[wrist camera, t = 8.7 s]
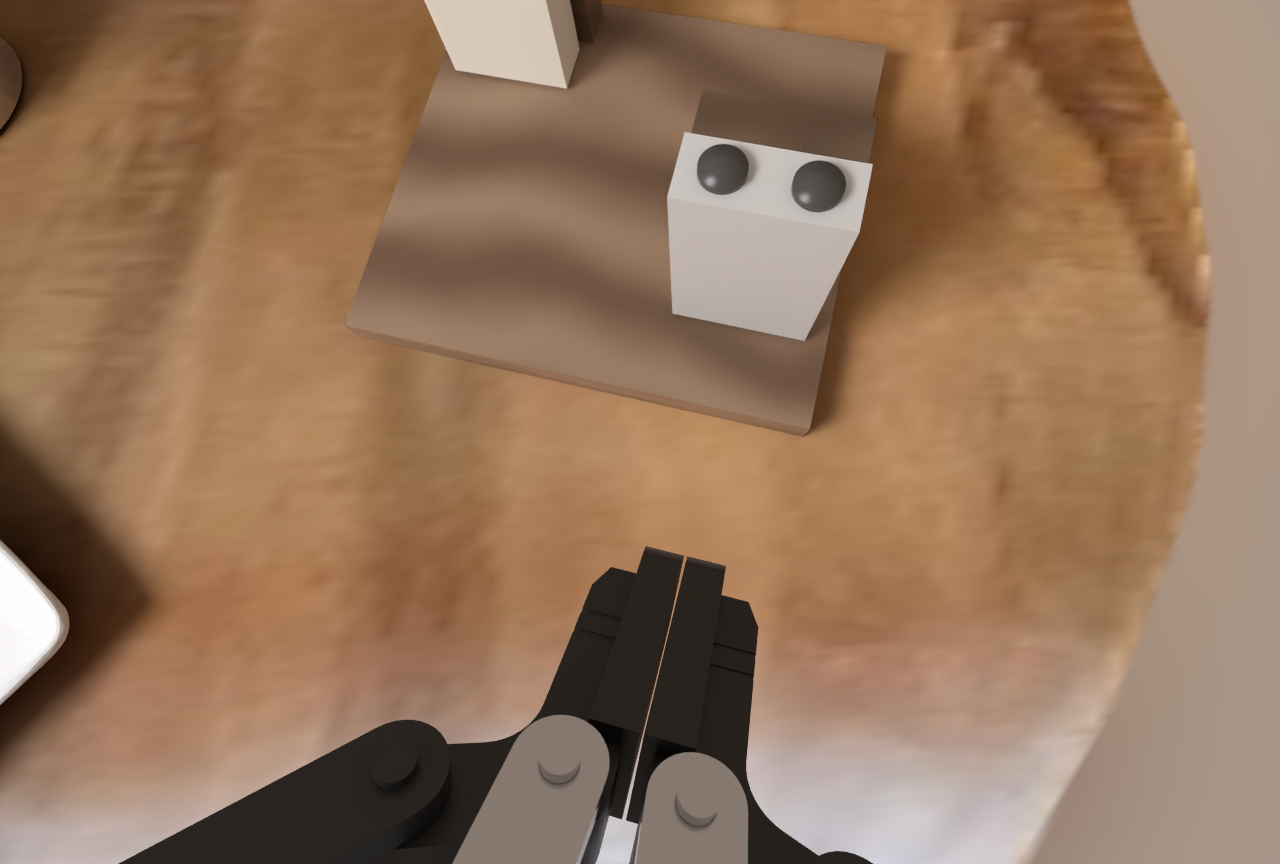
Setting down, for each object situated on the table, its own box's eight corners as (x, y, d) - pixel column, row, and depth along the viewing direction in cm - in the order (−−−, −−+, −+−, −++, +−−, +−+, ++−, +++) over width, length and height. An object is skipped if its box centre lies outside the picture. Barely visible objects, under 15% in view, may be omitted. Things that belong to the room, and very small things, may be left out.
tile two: (804, 340, 28) (862, 227, 19) (672, 313, 29) (666, 191, 20) (814, 291, 28) (875, 158, 19) (684, 266, 29) (684, 125, 20)
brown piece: (803, 436, 29) (837, 396, 22) (360, 336, 31) (278, 275, 25) (877, 69, 33) (923, -52, 26) (479, 8, 35) (435, -116, 29)
